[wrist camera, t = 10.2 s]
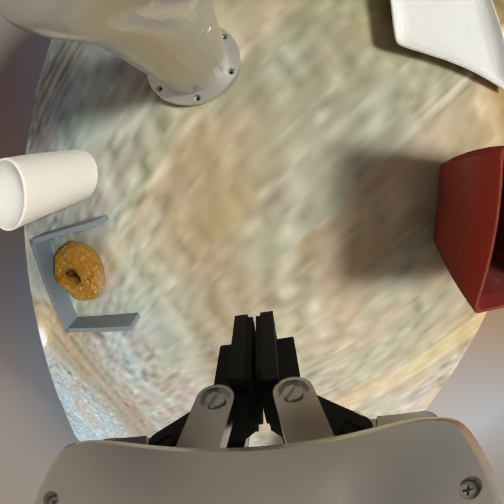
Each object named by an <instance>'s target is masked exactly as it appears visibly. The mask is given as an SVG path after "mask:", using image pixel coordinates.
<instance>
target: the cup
mask: <svg viewBox="0 0 504 504" xmlns="http://www.w3.org/2000/svg"><path fill="white" fill-rule="evenodd" d="M97 179H98V171H97V166H96V163H95V161H94V159H93V157H92V156H91V155H90V154H89V153H88V152H86V151H84V150H79V149H78V150H65V151H54V152H44V153H36V154H28V155H20V156H14V157H7V158H3V159H0V228H1V229H3V230H6V231H11V230H14V229H16V228H19V227H21V226H23V225H25V224H28V223H30V222H32V221H34V220H37V219H39V218H41V217H44V216H46V215H49V214H51V213H53V212H56V211H58V210H61V209H63V208H66V207H69V206H71V205H74V204H76V203H79V202H82V201H84V200H86V199H88V198H89V197H90V196H91V195H92V193H93V192H94V190H95V187H96V184H97Z"/></svg>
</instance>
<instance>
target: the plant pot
mask: <svg viewBox="0 0 504 504" xmlns="http://www.w3.org/2000/svg"><path fill="white" fill-rule="evenodd" d="M434 241H435V244H436V246H437V248H438V251H439V253H440V255H441V257H442V259H443V261H444V263H445V265H446V267H447V269H448V271H449V272H450V274H451V276H452V278H453V279H454V281H455V283H456V284H457V286H458V288H459V289H460V291H461V292H462V294H463V295H464V297H465V298H466V300H467V301H468V303H469V304H470V306H471V307H472V308H473V310H474V311H475V312H476V313H481V312H486V311H489V310H494V309H499V308H503V307H504V146H496V147H488V148H483V149H478V150H474V151H471V152H467V153H464V154H462V155H459V156H457V157H455V158H453V159H451V160H449V161H447V162H446V163H444V164H443V165H442V166H441V168H440V183H439V195H438V205H437V215H436V222H435V230H434Z"/></svg>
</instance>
